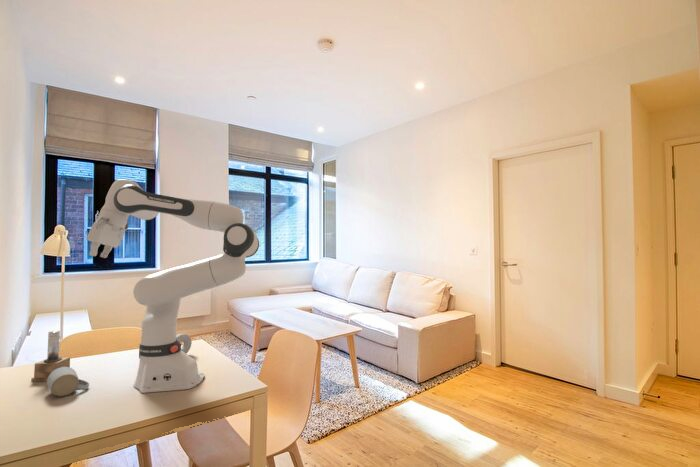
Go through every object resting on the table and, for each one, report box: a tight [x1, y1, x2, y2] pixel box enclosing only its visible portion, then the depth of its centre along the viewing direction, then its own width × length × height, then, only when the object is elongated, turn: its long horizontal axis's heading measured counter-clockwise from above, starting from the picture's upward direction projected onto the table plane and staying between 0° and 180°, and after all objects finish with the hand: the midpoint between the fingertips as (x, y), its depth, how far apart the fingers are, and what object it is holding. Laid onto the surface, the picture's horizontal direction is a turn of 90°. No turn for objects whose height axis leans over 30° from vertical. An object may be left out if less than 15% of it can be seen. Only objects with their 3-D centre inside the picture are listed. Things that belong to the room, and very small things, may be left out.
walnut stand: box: [31, 356, 71, 382], centre depth 126 cm, size 8×8×6 cm
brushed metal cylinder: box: [46, 330, 61, 361], centre depth 126 cm, size 3×3×10 cm
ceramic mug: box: [46, 366, 90, 397], centre depth 114 cm, size 11×8×8 cm
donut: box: [176, 333, 192, 354], centre depth 151 cm, size 10×3×10 cm, turn 153°
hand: (97, 256), depth 125 cm, fingers open, 8 cm apart
